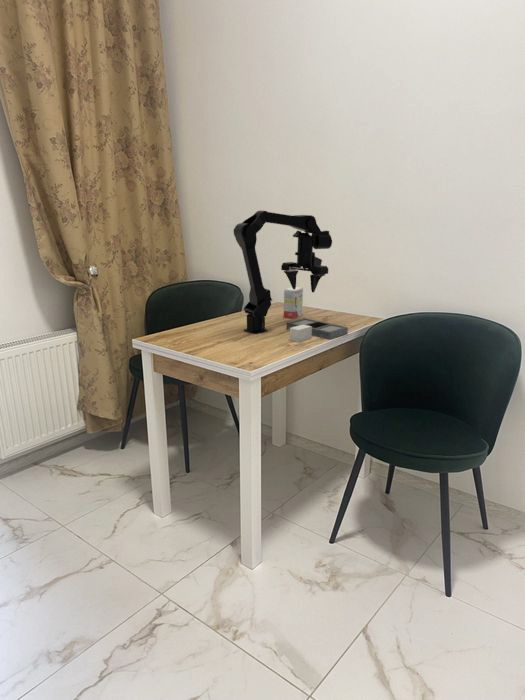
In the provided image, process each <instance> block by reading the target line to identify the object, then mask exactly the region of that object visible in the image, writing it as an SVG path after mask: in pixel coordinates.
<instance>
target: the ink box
mask: <svg viewBox="0 0 525 700" xmlns="http://www.w3.org/2000/svg"><path fill="white" fill-rule="evenodd" d="M303 298H304V287H301V286H296V289H293V288H292V286H290V287H287V288H284V289H283V318H288V319H295V318H298V317H300V316H302V315H303V302H304V300H303Z"/></svg>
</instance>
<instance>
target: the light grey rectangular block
mask: <svg viewBox="0 0 525 700" xmlns="http://www.w3.org/2000/svg"><path fill="white" fill-rule="evenodd" d="M311 334H312V326H308V325H299V326H295V327H292V328H290V330H289V341H291V342H296V343H300V342H304V341H307V340H310V339H311V340H312V335H311Z"/></svg>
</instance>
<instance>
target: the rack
mask: <svg viewBox="0 0 525 700" xmlns="http://www.w3.org/2000/svg"><path fill="white" fill-rule="evenodd" d="M299 325H308V326H312V334H311V336H312V337H313V336H314V337H318V338H322V339H326V340H333V339H335V338H339V337H343V336H346V335H348V333H349V327H348V326H345V325H339V324H333V323H330V322H324V321H319V320H315V319H311V318H305V317H304V318H301V319H297V320H291V321H289V322H286V330H288V329H289V330H288V331H290V328H292V327H295V326H299Z"/></svg>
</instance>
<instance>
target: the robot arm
mask: <svg viewBox="0 0 525 700" xmlns="http://www.w3.org/2000/svg"><path fill="white" fill-rule="evenodd" d="M267 223H268V224H275V225H281V226H282V225H283V226H288V227H291V228H293V229H295V230H296V232H294V233H293V234H292V237H293V238H297V251H295V253H294V255H295V256H296V261H294V262H293V261H289V262H288V261H287V262H282V264H281V266H280V267H281V268H280V270H281V271H283V273H284V274H285V275H286V277H287V279H288V281H289V283H290V285H291V286H290V287H292V288H293V289H296V287H297V275H298V273H299V271H305V272H310V273H311V274H310V275H309V279H310V289H311V293H315V291H316V288H317V286H318V284H319V281H320V280H321V278H322V277H325V276H326V275H327V274H329V268H328V266H327V265H322V262H323V260H322V258H319V257H317V256H316V253H315V252H314V250H322V249H323V250H328V249H330V248H331V247H332V244H333V239H332V236H331V234H330V230H321V229H320V227H319V225H318V223H317V219H316V217H315V216H314V215H312V214H311V215H310V214H308V215H307V214H295V215H294V214H292V215H291V214H283V213H278V212H277V213H276V212H271V211H266V210H258V211H256V212H255V213H254V214H252V215H251V216H250V217H248V218H247V219H245V220H243V222H239V223H238V224H236V225H235V227H234V228H233V235H234V237H235V241H236V243H237V244H238V245H239V248H240V249H241V252H242V256H243V259H244V264H245V268H246V274H247V278H248V281H249V286H250V288H249V294H248V295H249V298H248V299H249V301H248V302H247V304H246V305H245V306H244V307H243V311H244V312H245V314H246V328H243V331H245V332H248V333H252V334H259V333H263V332H267V331H268V328H266V317H267V315H268V312H269V309H270V308H271V307H272V301H273V299H272V297H271V296H272V295H271V290H270V289H267V288H265V286H264V284H263V279H262V274H261V270H260V265H259V260H258V255H257V251H256V246H257V233H259V232H260V231H261V229H262V228H263V227H264V225H265V224H267ZM302 231H303V232H302Z"/></svg>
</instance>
